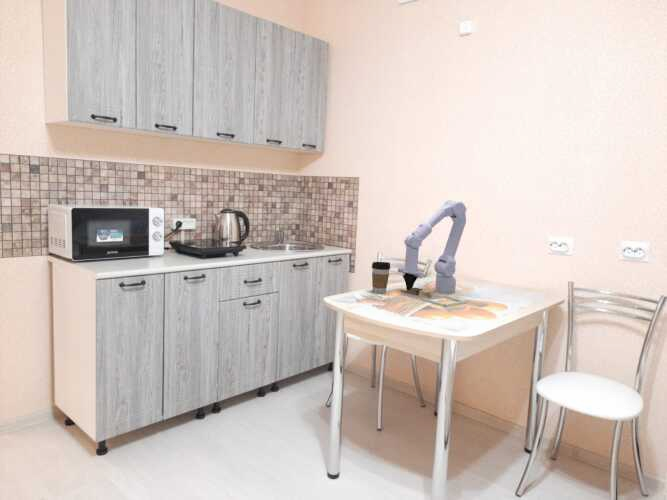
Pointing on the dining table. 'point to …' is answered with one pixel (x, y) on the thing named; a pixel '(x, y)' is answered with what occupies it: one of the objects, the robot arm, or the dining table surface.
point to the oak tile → (425, 293)
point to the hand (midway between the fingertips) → (409, 290)
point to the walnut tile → (415, 291)
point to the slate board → (419, 296)
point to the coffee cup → (380, 276)
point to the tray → (446, 304)
